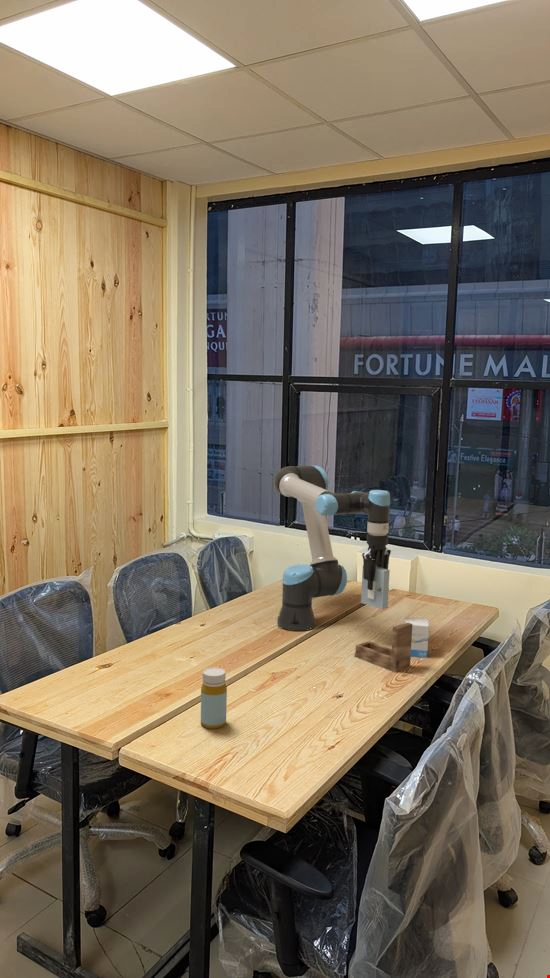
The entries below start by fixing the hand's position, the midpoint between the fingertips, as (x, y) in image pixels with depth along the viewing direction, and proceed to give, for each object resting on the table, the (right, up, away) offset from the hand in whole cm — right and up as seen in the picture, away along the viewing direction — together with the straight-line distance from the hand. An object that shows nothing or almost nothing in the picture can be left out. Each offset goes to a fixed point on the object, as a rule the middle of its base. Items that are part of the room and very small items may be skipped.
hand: (374, 597), depth 256 cm
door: (0, -3, 0) cm, 3 cm away
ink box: (+14, -20, -3) cm, 24 cm away
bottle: (-53, -26, -61) cm, 85 cm away
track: (+1, -20, -12) cm, 24 cm away
